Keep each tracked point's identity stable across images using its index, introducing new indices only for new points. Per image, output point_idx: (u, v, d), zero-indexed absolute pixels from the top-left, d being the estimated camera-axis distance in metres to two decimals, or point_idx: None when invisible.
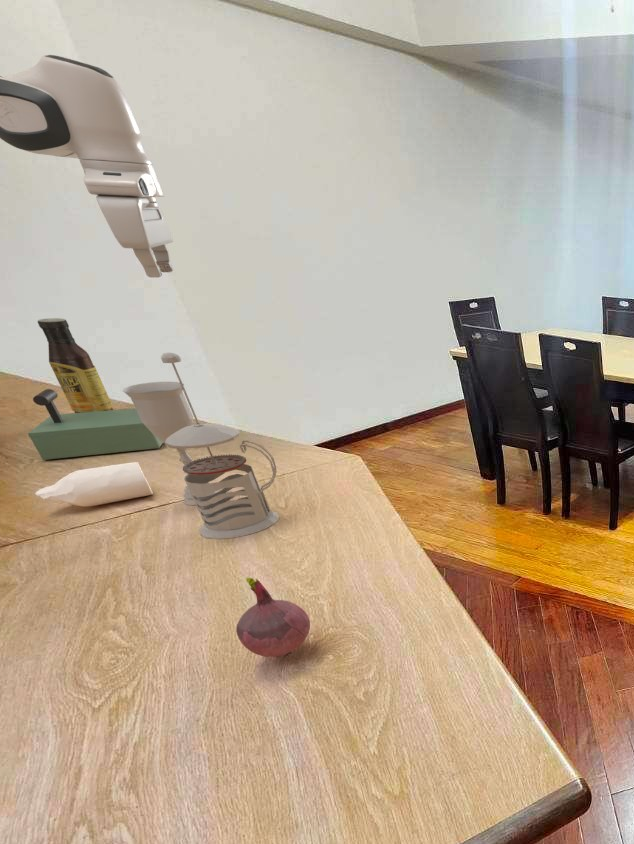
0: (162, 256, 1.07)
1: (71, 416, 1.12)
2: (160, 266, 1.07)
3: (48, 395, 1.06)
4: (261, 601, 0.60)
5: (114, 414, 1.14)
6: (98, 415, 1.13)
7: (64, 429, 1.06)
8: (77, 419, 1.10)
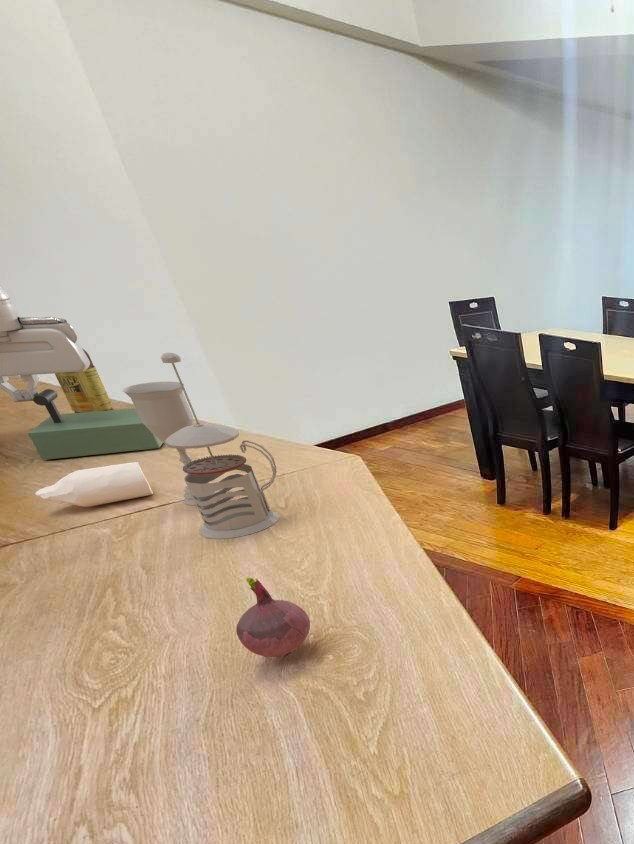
0: None
1: (71, 416, 1.12)
2: None
3: (48, 395, 1.06)
4: (261, 601, 0.60)
5: (114, 414, 1.14)
6: (98, 415, 1.13)
7: (64, 429, 1.06)
8: (77, 419, 1.10)
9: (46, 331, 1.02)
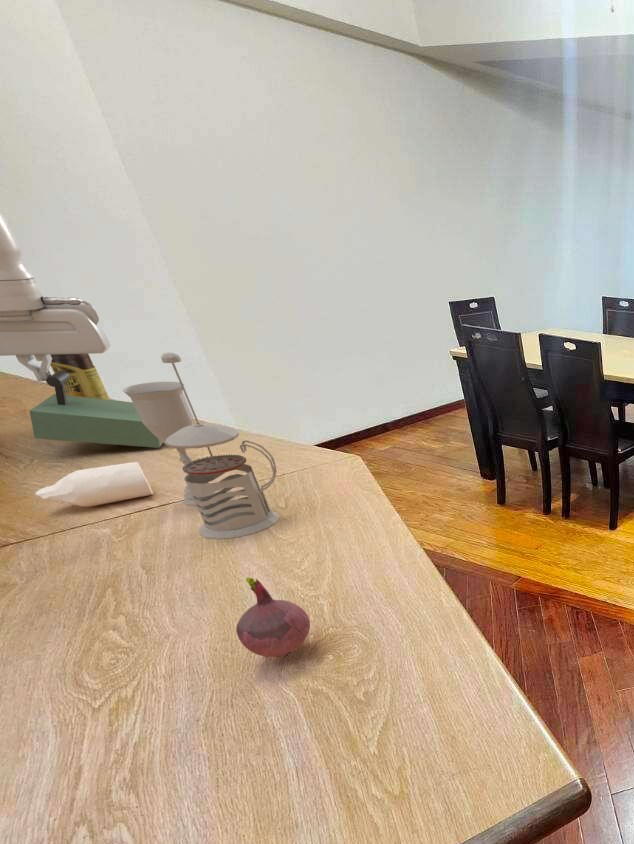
0: None
1: (75, 399, 1.11)
2: None
3: (62, 378, 1.06)
4: (261, 601, 0.60)
5: (120, 406, 1.14)
6: (104, 404, 1.12)
7: (69, 413, 1.05)
8: (82, 404, 1.10)
9: (69, 311, 1.02)
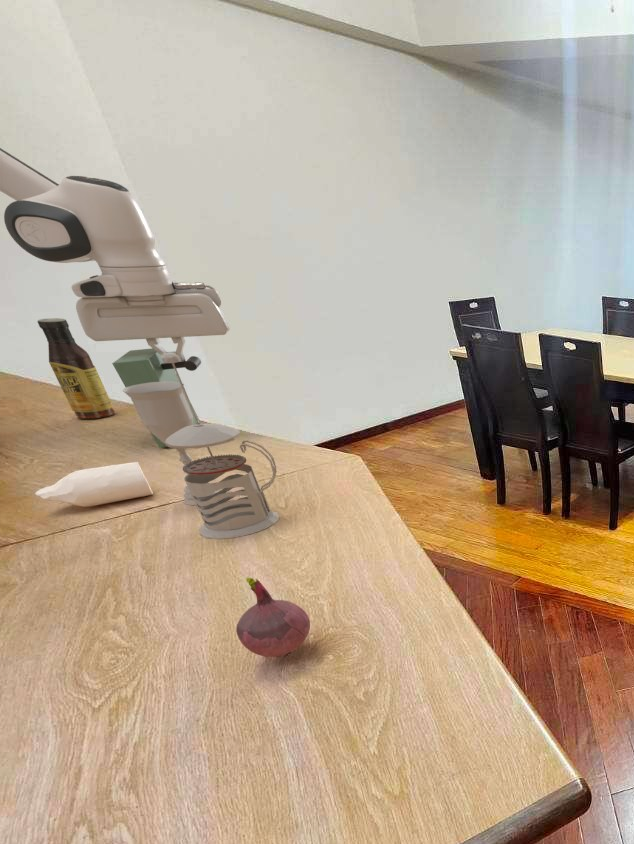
0: None
1: None
2: None
3: None
4: (261, 601, 0.60)
5: None
6: None
7: None
8: (169, 377, 1.14)
9: (197, 295, 1.09)
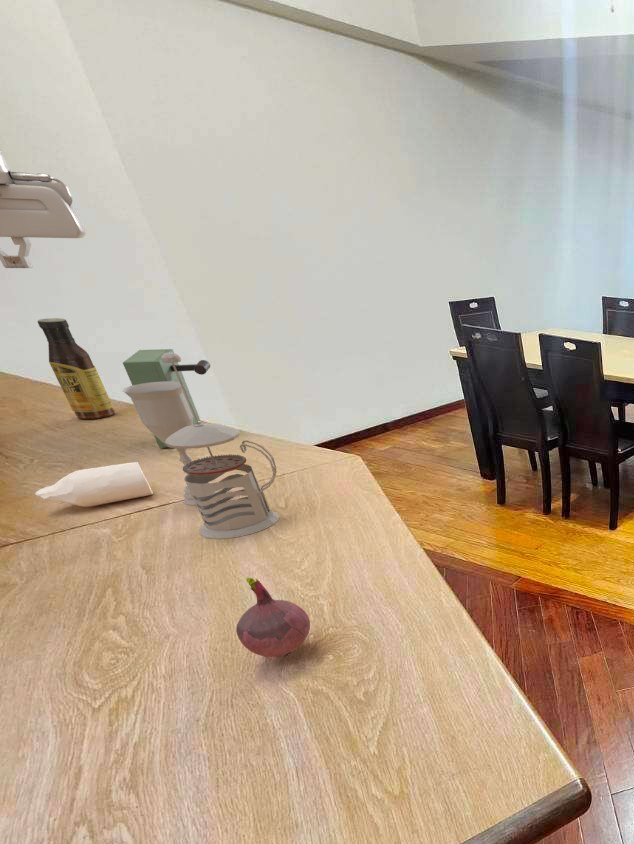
0: None
1: None
2: None
3: (206, 371, 1.15)
4: (261, 601, 0.60)
5: None
6: None
7: None
8: (177, 379, 1.15)
9: (39, 188, 0.95)
